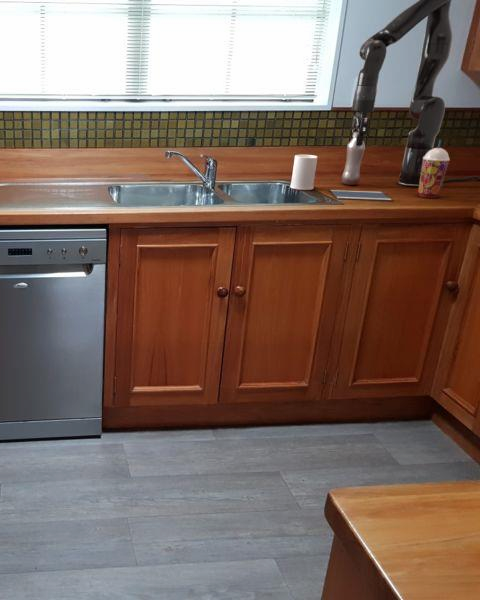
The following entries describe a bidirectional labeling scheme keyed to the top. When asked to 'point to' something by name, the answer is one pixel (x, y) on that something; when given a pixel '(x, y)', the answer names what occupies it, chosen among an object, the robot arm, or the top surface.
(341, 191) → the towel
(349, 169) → the plastic bottle
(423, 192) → the smoothie
